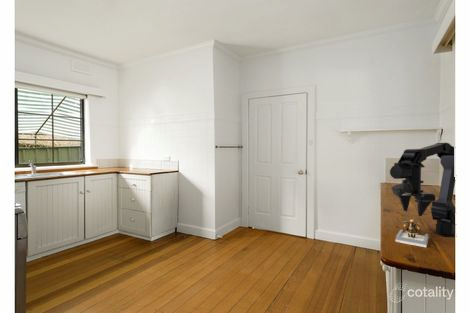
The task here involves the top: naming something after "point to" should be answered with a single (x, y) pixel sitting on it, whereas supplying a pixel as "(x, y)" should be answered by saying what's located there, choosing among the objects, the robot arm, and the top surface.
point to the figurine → (411, 228)
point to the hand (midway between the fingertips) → (412, 213)
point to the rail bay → (412, 239)
